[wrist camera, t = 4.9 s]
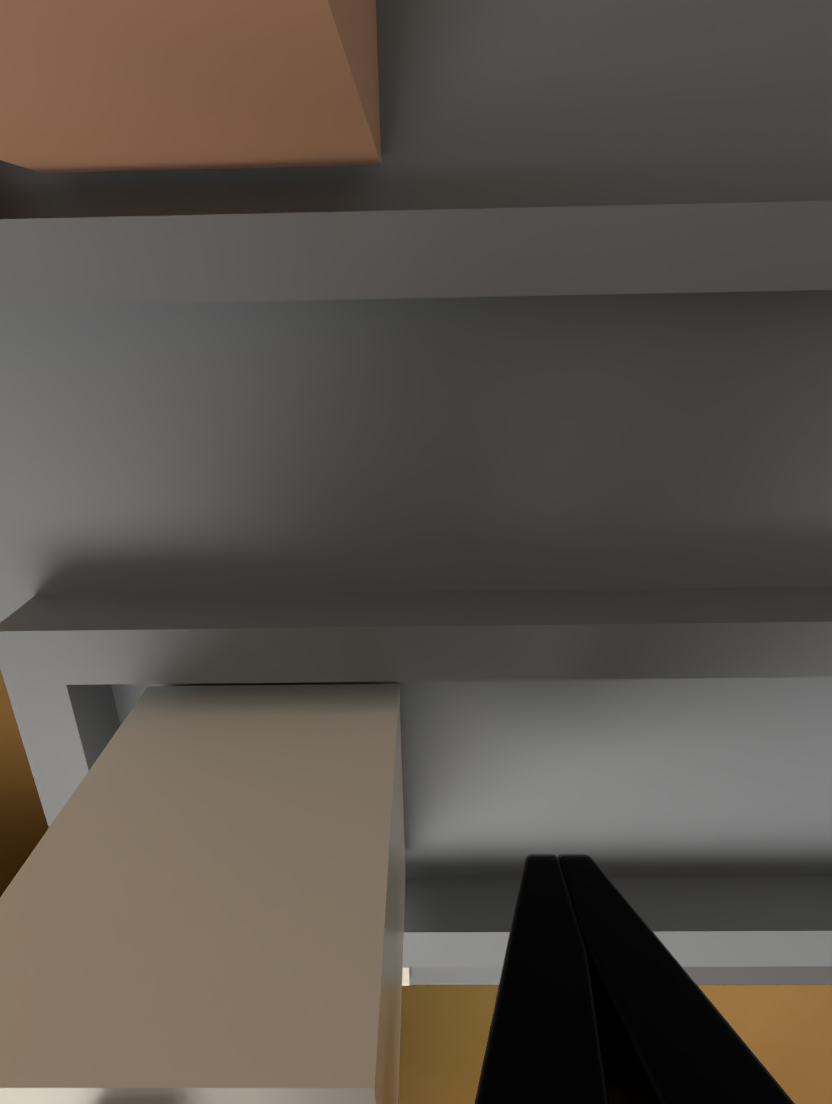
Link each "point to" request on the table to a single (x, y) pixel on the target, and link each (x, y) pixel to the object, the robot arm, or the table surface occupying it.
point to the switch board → (470, 460)
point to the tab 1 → (188, 84)
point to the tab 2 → (216, 908)
